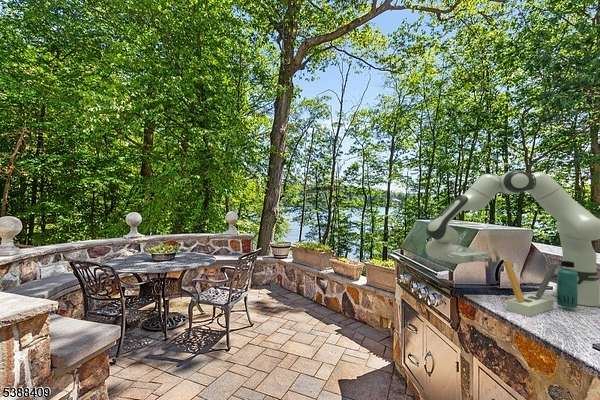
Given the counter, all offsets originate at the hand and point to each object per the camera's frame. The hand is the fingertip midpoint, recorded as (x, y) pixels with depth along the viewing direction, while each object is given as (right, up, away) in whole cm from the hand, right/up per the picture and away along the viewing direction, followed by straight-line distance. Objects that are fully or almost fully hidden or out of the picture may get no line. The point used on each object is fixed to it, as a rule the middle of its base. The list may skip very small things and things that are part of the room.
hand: (486, 259), depth 127 cm
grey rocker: (+19, -15, -5) cm, 24 cm away
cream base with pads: (+12, -19, -9) cm, 24 cm away
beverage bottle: (+28, -19, -8) cm, 35 cm away
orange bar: (+6, -14, -12) cm, 20 cm away
